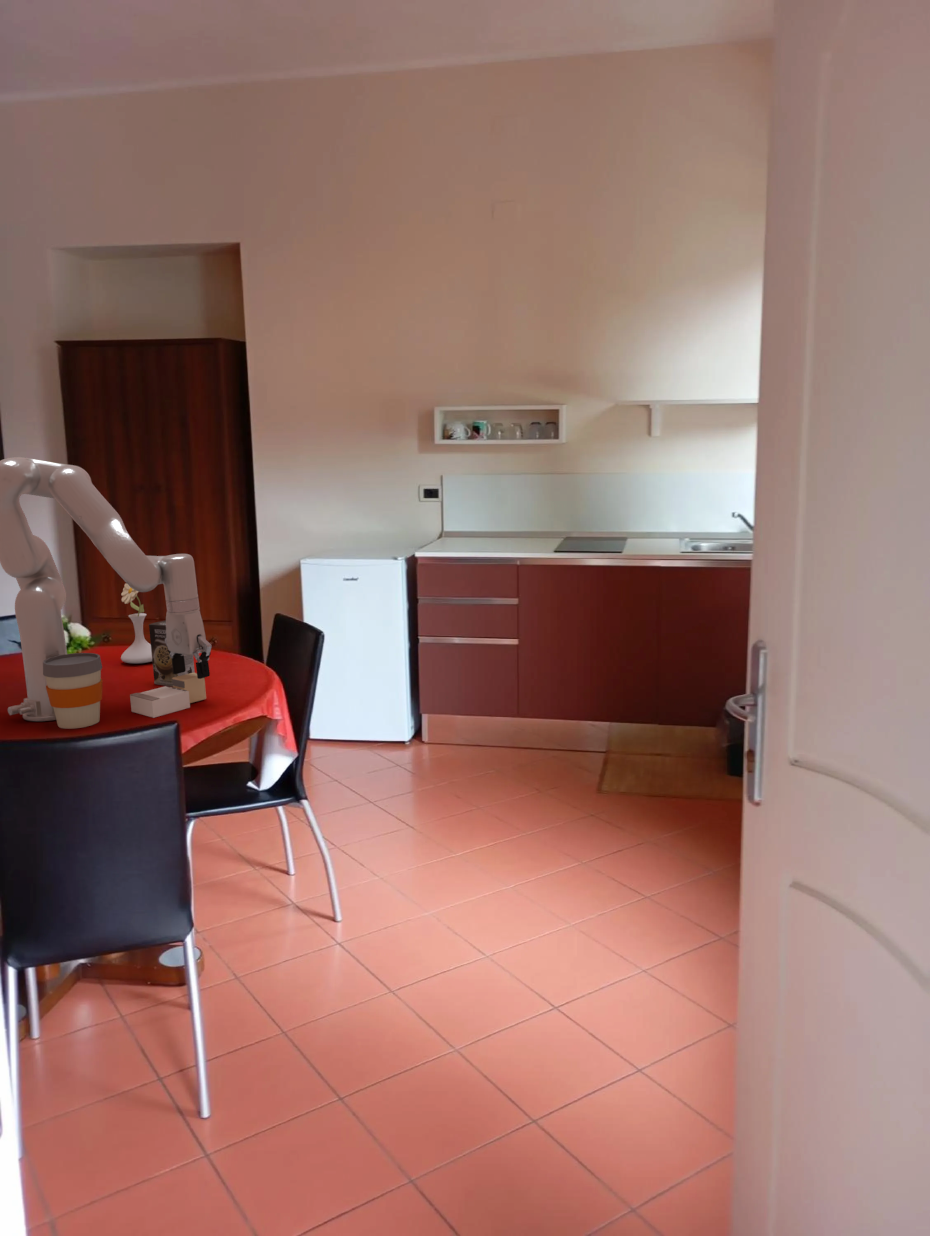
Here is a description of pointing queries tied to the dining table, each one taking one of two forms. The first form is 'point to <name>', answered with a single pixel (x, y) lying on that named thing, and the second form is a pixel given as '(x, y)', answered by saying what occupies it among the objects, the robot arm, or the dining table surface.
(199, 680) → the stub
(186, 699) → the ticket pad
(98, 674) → the reusable coffee cup
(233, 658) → the dining table surface
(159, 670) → the coffee box
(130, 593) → the flower in vase
